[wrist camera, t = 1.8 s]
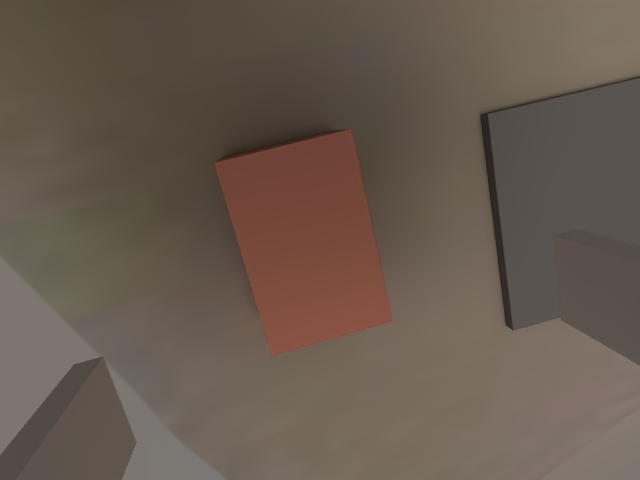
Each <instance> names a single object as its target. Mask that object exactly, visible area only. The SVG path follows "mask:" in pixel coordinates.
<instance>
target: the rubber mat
mask: <svg viewBox="0 0 640 480" xmlns="http://www.w3.org/2000/svg"><path fill="white" fill-rule="evenodd" d="M481 120H482V128H483V137H484V145H485V153H486V161H487V169H488V178H489V186H490V194H491V202H492V211H493V219H494V227H495V235H496V244H497V252H498V260H499V268H500V276H501V285H502V293H503V301H504V309H505V318H506V325H507V326H508V327H509V328H511V329H512V330H517V329H520V328H524V327H527V326H531V325H534V324H538V323H541V322H545V321H548V320H552V319H555V318H559V317H561V312H560V301H559V291H558V280H557V269H556V258H555V247H554V235H558V234H561V233H565V232H569V231H573V230H576V229H578V230H582V231H585V232H589V233H593V234H597V235H600V236H604V237H608V238H611V239H615V240H619V241H622V242H626V243H630V244H634V245H637V246H640V77H638V78H634V79H629V80H625V81H621V82H617V83H613V84H608V85H604V86H600V87H596V88H592V89H587V90H583V91H579V92H575V93H570V94H566V95H562V96H558V97H554V98H549V99H545V100H541V101H537V102H533V103H528V104H524V105H520V106H516V107H511V108H507V109H503V110H499V111H495V112H490V113H486V114H482V115H481Z"/></svg>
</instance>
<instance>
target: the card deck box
mask: <svg viewBox="0 0 640 480" xmlns="http://www.w3.org/2000/svg"><path fill="white" fill-rule="evenodd" d="M214 164H215V167H216V171H217V174H218V178H219V181H220V184H221V188H222V191H223V194H224V198H225V201H226V204H227V208H228V211H229V214H230V218H231V221H232V225H233V228H234V231H235V235H236V238H237V241H238V245H239V248H240V251H241V255H242V258H243V261H244V265H245V268H246V272H247V275H248V278H249V282H250V285H251V288H252V292H253V295H254V298H255V302H256V305H257V308H258V312H259V315H260V319H261V322H262V325H263V329H264V332H265V335H266V339H267V342H268V345H269V349H270V352H271V356H272V355H276V354H279V353H283V352H286V351H290V350H293V349H297V348H300V347H304V346H307V345H311V344H314V343H317V342H321V341H324V340H328V339H331V338H335V337H338V336H342V335H345V334H349V333H352V332H355V331H359V330H362V329H366V328H369V327H373V326H376V325H380V324H383V323H387V322H390V321H392V317H391V312H390V307H389V302H388V298H387V293H386V288H385V284H384V279H383V274H382V269H381V265H380V260H379V255H378V250H377V246H376V241H375V236H374V232H373V227H372V222H371V217H370V213H369V208H368V203H367V198H366V194H365V189H364V184H363V180H362V175H361V170H360V165H359V161H358V156H357V151H356V146H355V142H354V137H353V132H352V129H344V130H334V131H330V132H326V133H322V134H318V135H314V136H309V137H305V138H301V139H297V140H293V141H289V142H285V143H281V144H277V145H273V146H269V147H265V148H261V149H257V150H253V151H249V152H245V153H241V154H237V155H233V156H229V157H225V158H222V159H220V160H218V161H217V162H215V163H214Z"/></svg>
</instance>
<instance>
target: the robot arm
mask: <svg viewBox="0 0 640 480" xmlns="http://www.w3.org/2000/svg"><path fill="white" fill-rule="evenodd" d="M554 247H555V258H556V269H557V280H558V291H559V301H560V312H561V320H562V321H564V322H566V323H567V324H569V325H571V326H573V327H574V328H576V329H578V330H579V331H581V332H583V333H585V334H586V335H588V336H590V337H592V338H593V339H595V340H597V341H598V342H600V343H602V344H604V345H605V346H607V347H609V348H610V349H612V350H614V351H616V352H617V353H619V354H621V355H623V356H624V357H626V358H628V359H629V360H631V361H633V362H635V363H636V364H638V365H640V246H637V245H634V244H630V243H626V242H622V241H619V240H615V239H611V238H608V237H604V236H600V235H597V234H593V233H589V232H585V231H582V230H578V229H576V230H573V231H569V232H565V233H561V234H558V235H554ZM135 445H136V440H135V437H134V435H133V432H132V430H131V427H130V424H129V422H128V419H127V417H126V414H125V412H124V409H123V406H122V404H121V401H120V399H119V396H118V394H117V391H116V389H115V386H114V384H113V381H112V378H111V376H110V373H109V370H108V368H107V365H106V363H105V360H104V358H103V357H100V358H96V359H92V360H89V361H85V362H82V363H78V364H74V365H73V366H72V368H71V369H70V370H69V371H68V373H67V374H66V375H65V376H64V377H63V379H62V380H61V381H60V382H59V384H58V385H57V386H56V387H55V388H54V390H53V391H52V392H51V393H50V395H49V396H48V397H47V398H46V400H45V401H44V402H43V403H42V404H41V406H40V407H39V408H38V409H37V411H36V412H35V413H34V414H33V415H32V417H31V418H30V419H29V420H28V422H27V423H26V424H25V425H24V427H23V428H22V429H21V430H20V431H19V433H18V434H17V435H16V436H15V438H14V439H13V440H12V441H11V443H10V444H9V445H8V446H7V448H6V449H5V450H4V451H3V452H2V454H1V455H0V480H122V477H123V475H124V472H125V470H126V467H127V465H128V462H129V459H130V457H131V455H132V452H133V450H134V447H135Z"/></svg>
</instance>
